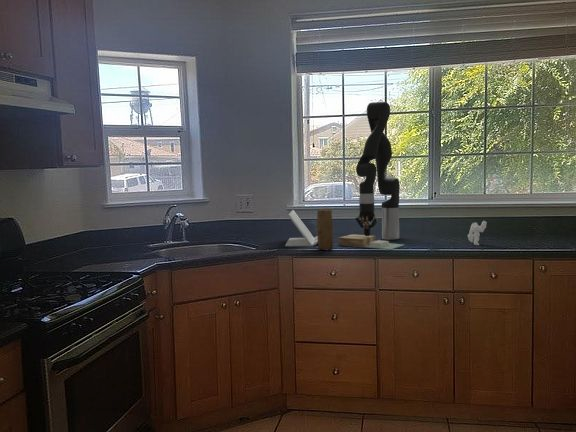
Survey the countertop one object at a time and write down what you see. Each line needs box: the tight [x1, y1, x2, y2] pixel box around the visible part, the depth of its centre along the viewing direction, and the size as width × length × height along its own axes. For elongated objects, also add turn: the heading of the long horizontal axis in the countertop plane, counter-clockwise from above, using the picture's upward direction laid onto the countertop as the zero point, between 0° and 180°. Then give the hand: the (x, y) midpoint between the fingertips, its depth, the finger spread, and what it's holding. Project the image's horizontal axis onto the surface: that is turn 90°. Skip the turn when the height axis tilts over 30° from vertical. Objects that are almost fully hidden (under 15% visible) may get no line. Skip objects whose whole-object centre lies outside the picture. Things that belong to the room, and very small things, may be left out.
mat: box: [362, 242, 405, 251], centre depth 263 cm, size 15×16×1 cm
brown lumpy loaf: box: [316, 208, 334, 251], centre depth 260 cm, size 11×8×20 cm
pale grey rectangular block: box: [369, 239, 390, 248], centre depth 263 cm, size 9×6×2 cm, turn 141°
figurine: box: [467, 220, 488, 246], centre depth 260 cm, size 10×5×12 cm, turn 33°
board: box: [337, 233, 377, 248], centre depth 271 cm, size 14×14×4 cm
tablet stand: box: [284, 209, 318, 247], centre depth 282 cm, size 18×25×17 cm
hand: (367, 235), depth 267 cm, fingers closed
